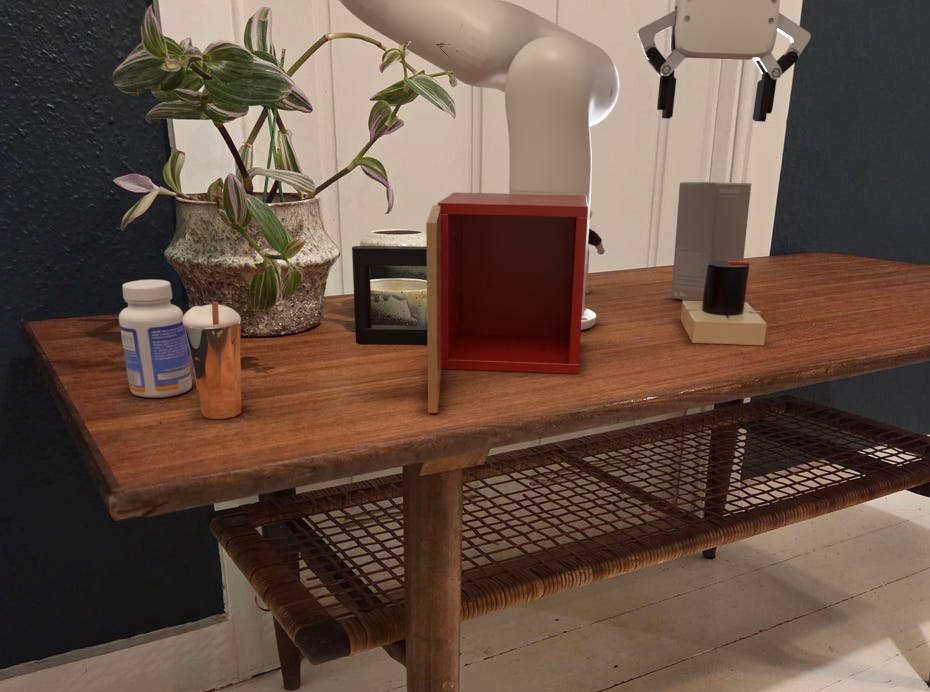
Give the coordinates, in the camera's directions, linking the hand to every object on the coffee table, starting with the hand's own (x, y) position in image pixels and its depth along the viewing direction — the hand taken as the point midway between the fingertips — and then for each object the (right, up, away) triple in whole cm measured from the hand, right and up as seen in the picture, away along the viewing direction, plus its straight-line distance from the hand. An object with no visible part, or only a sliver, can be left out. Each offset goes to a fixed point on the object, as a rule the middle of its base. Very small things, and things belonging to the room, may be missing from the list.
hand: (712, 119), depth 93 cm
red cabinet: (-21, -25, +1) cm, 33 cm away
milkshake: (-46, -33, -19) cm, 60 cm away
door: (-32, -30, -11) cm, 45 cm away
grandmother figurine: (-11, -11, +35) cm, 38 cm away
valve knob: (+4, -18, +11) cm, 22 cm away
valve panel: (+4, -20, +12) cm, 24 cm away
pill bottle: (-54, -30, -12) cm, 63 cm away
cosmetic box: (+7, -13, +32) cm, 35 cm away
